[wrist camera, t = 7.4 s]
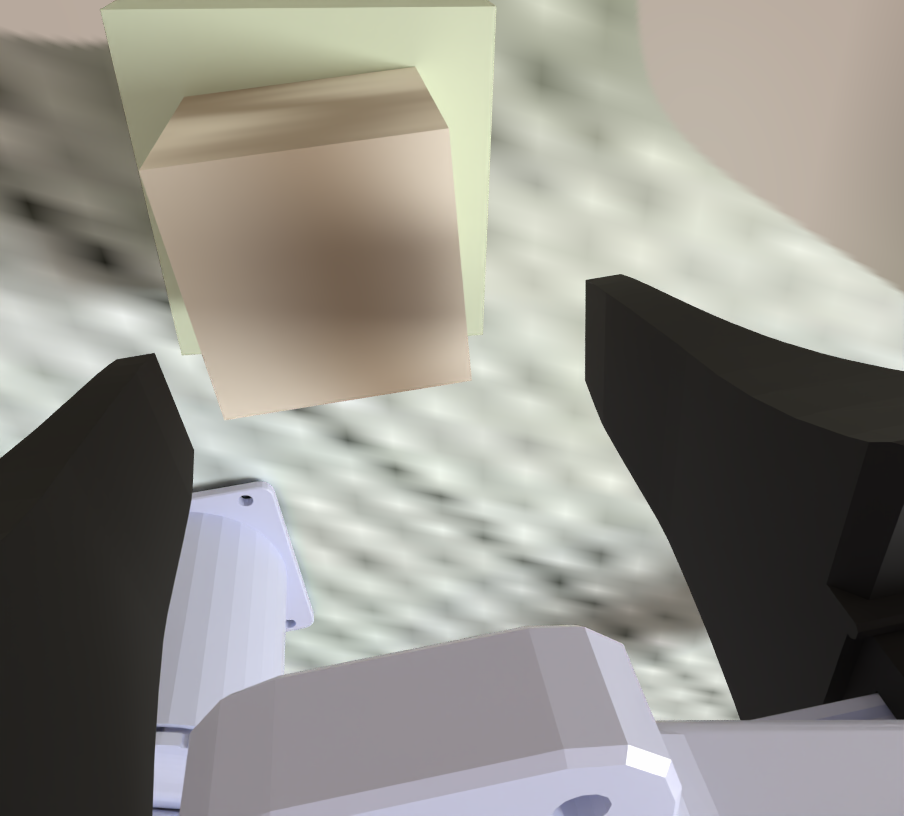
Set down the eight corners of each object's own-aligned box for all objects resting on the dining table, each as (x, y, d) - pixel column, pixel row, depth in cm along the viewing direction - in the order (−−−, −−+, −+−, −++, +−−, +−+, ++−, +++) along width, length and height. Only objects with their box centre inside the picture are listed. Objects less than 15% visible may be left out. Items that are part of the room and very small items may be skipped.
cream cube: (243, 304, 19) (224, 420, 15) (183, 96, 16) (138, 170, 12) (438, 274, 19) (471, 380, 15) (415, 66, 16) (448, 128, 12)
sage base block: (200, 287, 22) (182, 355, 19) (138, -14, 18) (100, 9, 15) (459, 272, 23) (482, 334, 20) (464, -16, 19) (496, 6, 16)
